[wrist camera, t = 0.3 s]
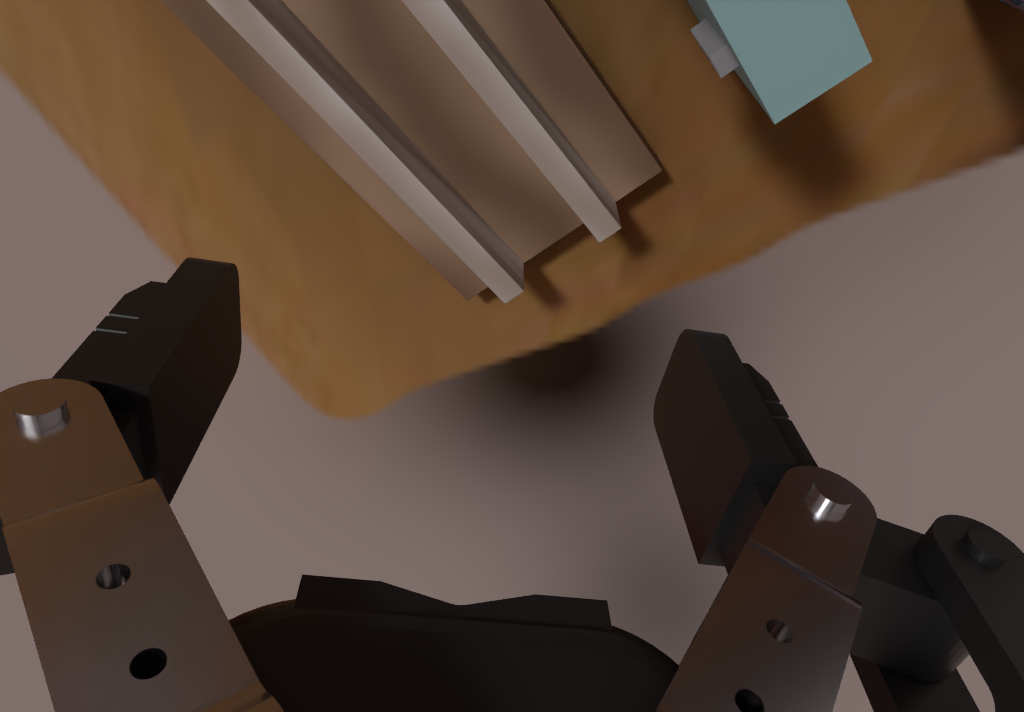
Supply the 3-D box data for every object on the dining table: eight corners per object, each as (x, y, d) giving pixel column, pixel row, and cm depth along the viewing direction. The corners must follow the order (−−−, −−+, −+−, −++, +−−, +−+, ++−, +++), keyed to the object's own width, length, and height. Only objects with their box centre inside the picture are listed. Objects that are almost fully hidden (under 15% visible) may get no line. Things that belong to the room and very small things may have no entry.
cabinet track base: (350, -288, 23) (325, -297, 20) (657, 156, 33) (672, 195, 30) (147, -36, 28) (102, -13, 25) (469, 284, 38) (465, 329, 35)
